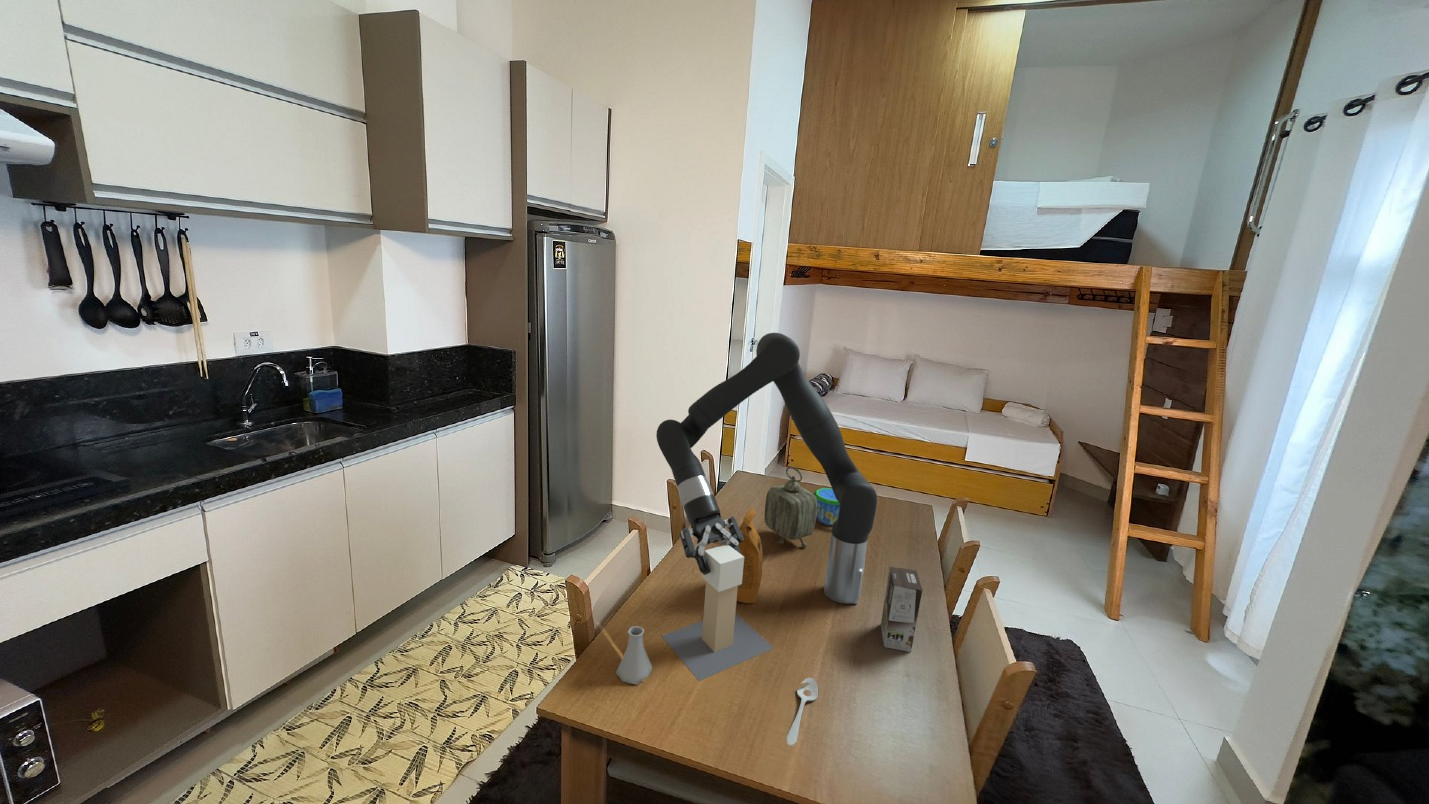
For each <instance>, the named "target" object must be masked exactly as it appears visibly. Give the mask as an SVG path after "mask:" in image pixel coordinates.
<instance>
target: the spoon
mask: <svg viewBox="0 0 1429 804" xmlns="http://www.w3.org/2000/svg"><path fill="white" fill-rule="evenodd" d="M805 683H808V684H805ZM802 684H805V685H803V686H801V687H799V688H798V689H797V690H796V694H797V696H798V697H799V698H800V699H801V700H800V705H799V708H798V710H797V713H796V716H795V718H794V719H793V720H794V721H792V724H791V726H790V728H789V731H788V734H787V735H786V743H787V745H788V746H793V745H794V744H796V742H797V740H798V736H799V731H800V725H801V717H802V715H803V709H804V706H805V704H806V703H807V702H813V701H815V700H816V699H817V698H818V693H819V692H818V691H819V689H818V685H817V681H816V680H815V679H814V678H813V677H807V678H805V679H804V680H802V682H801V683H800V685H802ZM805 691H809V692H810V695H805V694H804V692H805Z"/></svg>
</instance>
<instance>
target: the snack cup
mask: <svg viewBox="0 0 1429 804" xmlns="http://www.w3.org/2000/svg"><path fill="white" fill-rule="evenodd" d="M812 494H813V495H814V496H815V497H816V502H817V513H816V520H817V521H818V522H819V523H821V524H823V525H826V526H833V523H834V522H835V521H836V520H838V516H839V510H840V504H839V502H838V501H837V499H836V497H835V495H834V492H833V489H832V487H831V488H830V487H822V488H819V489H816V490H815V491H814V492H813V493H812Z"/></svg>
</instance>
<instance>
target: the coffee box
mask: <svg viewBox="0 0 1429 804" xmlns="http://www.w3.org/2000/svg"><path fill="white" fill-rule="evenodd" d="M888 568H889V570H888V571H889V572H888V575H887V582H886V589H885V595H884V601H883V602H884V603H883V609H882V613H881V619H880V620H881V621H880V628H881V635H882V642H883V647H884V648H888V649H894V650H898V651H901V652H902V651H903V652H908V653H910V652H912V649H913V643H914V637H915V632H916V626H917V621H918V616H919V611H920V606H921V599H922V595H923V591H924V590H923V588H922V583H921V581H920V578H919V575H918V572H917V569H916V570H915V569H911V568H910V569H909V568H903V567H894V566H889V567H888Z"/></svg>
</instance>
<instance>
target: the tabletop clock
mask: <svg viewBox="0 0 1429 804" xmlns="http://www.w3.org/2000/svg"><path fill="white" fill-rule="evenodd" d="M789 469H792V470H794V471H796V472H797V473H798V475H799V477H800V479H796V476H795V475H793V476H791V475H790V474H789V473H788V470H789ZM785 473H786V475H787V477H788V478H789V479H790V480H787V482H786V483H784V484H781V485H776V486H775V485H774V486H771V488H769V490H768V491H767V494H766V497H765V503H764V524H765V525H766V526H767V527H768V528H769V529H770V530H771V531H772V532H774V533H775V534H777V535H779V536H780V539H778V543H779V545H783V544H784V542H785V541H784V539H787V540H789V541H797V540H799V541H800V543H801V544H800V545H801V547H802V548H803V549H805V548H807V547H808V546H807V543H806V542H804V540H803V538H805V537H808V536H812V534H813V533H814V531H815V526H816V520H817V502H816V497H815V496H814V495H813V494H814V493H812V492H810V490H808V489H806V488H804V487H803V486H801V484H800V482H802V480H803V475H802V473H801V470H799V469H798V468H796V467H795V466H788V467H786V470H785Z"/></svg>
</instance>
